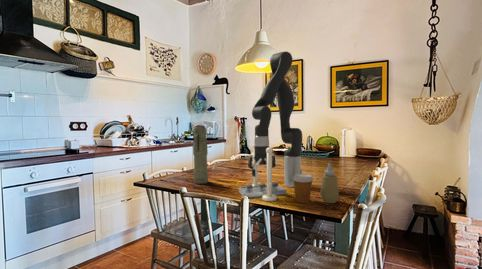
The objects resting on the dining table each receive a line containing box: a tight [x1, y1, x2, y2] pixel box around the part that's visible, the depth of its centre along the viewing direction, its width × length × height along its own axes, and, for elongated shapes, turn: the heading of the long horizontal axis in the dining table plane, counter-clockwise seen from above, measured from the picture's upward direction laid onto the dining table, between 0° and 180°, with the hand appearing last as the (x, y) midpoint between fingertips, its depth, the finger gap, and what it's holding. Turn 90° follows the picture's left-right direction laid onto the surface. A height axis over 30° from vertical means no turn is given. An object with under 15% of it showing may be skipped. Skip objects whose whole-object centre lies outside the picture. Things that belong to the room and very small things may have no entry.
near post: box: [261, 147, 278, 202], centre depth 132 cm, size 7×7×25 cm
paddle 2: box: [272, 181, 279, 188], centre depth 145 cm, size 3×3×2 cm
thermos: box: [192, 124, 209, 185], centre depth 168 cm, size 9×12×35 cm
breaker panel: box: [238, 184, 287, 199], centre depth 144 cm, size 22×12×3 cm, turn 105°
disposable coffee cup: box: [293, 173, 314, 204], centre depth 129 cm, size 10×10×12 cm
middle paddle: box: [258, 182, 267, 188], centre depth 143 cm, size 3×3×2 cm
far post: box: [251, 143, 259, 186], centre depth 153 cm, size 7×7×25 cm
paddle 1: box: [245, 183, 253, 190], centre depth 142 cm, size 3×3×2 cm
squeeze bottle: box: [319, 162, 339, 204], centre depth 127 cm, size 8×8×18 cm
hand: (261, 175), depth 143 cm, fingers open, 8 cm apart
